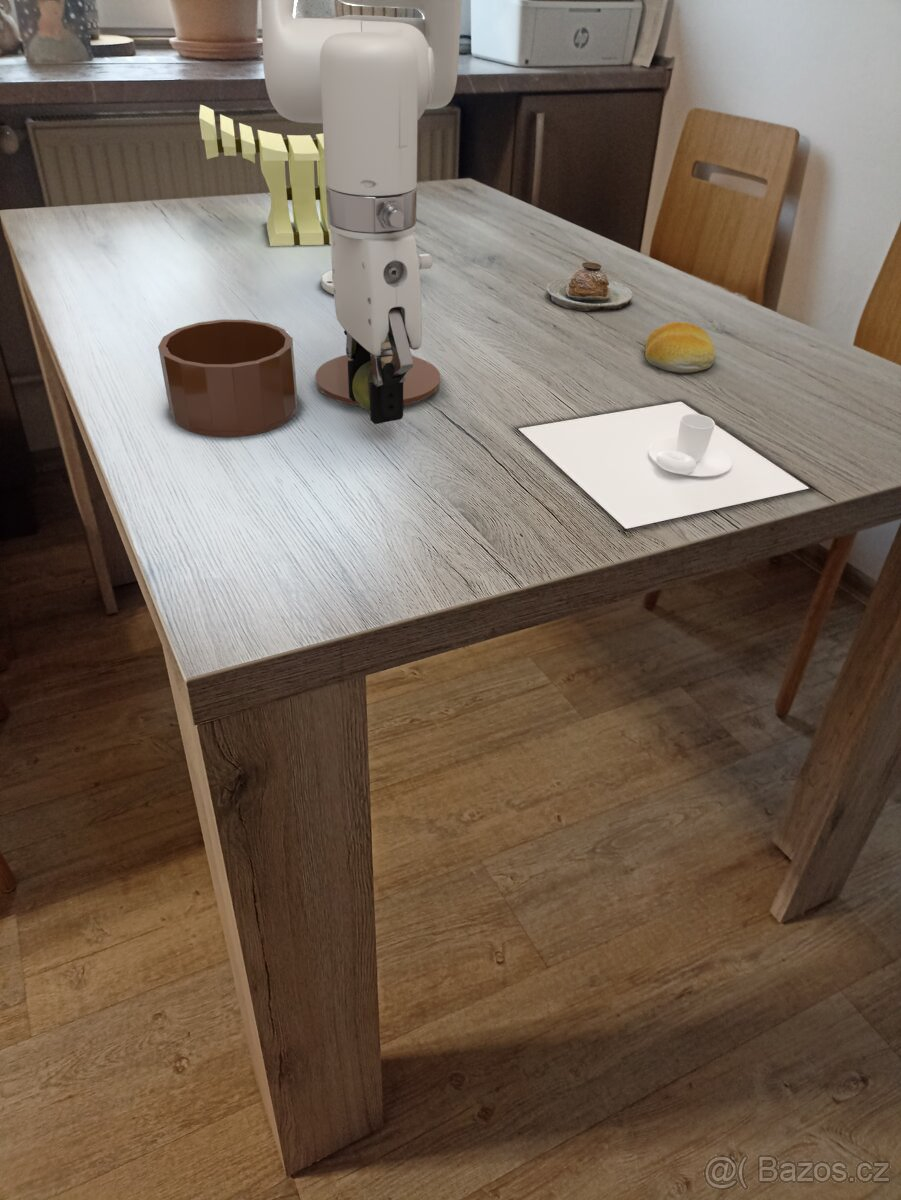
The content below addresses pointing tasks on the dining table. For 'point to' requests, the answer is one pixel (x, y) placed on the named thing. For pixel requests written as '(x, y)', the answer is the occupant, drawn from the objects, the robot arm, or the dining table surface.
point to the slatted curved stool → (279, 176)
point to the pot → (229, 377)
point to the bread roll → (680, 348)
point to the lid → (417, 379)
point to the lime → (363, 384)
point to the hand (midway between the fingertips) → (375, 407)
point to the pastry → (589, 290)
